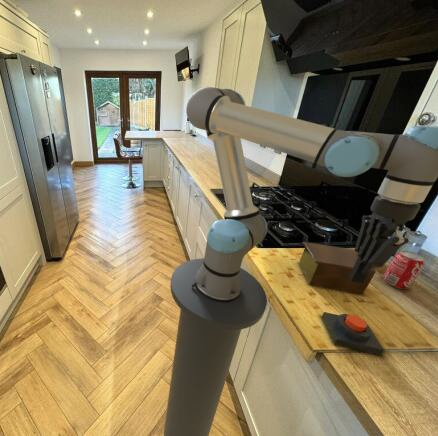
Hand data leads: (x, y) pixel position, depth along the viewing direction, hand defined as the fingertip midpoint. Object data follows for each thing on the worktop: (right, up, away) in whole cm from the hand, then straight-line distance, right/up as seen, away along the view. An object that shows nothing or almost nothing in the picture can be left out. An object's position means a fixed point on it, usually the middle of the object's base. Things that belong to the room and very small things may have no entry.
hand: (355, 280), depth 64 cm
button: (-3, -11, -3) cm, 12 cm away
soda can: (+30, -6, +19) cm, 36 cm away
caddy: (+8, -4, +20) cm, 22 cm away
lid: (+8, +4, +17) cm, 19 cm away
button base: (-3, -14, -1) cm, 15 cm away
